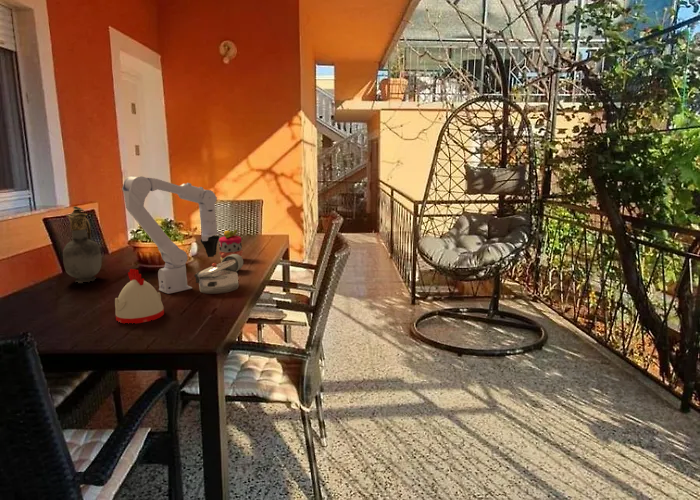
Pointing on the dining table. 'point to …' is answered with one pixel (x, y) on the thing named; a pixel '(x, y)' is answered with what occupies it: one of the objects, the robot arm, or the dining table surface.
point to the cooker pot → (218, 282)
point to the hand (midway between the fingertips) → (211, 255)
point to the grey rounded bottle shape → (81, 250)
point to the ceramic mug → (236, 265)
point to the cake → (230, 244)
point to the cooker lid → (215, 268)
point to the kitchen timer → (138, 301)
